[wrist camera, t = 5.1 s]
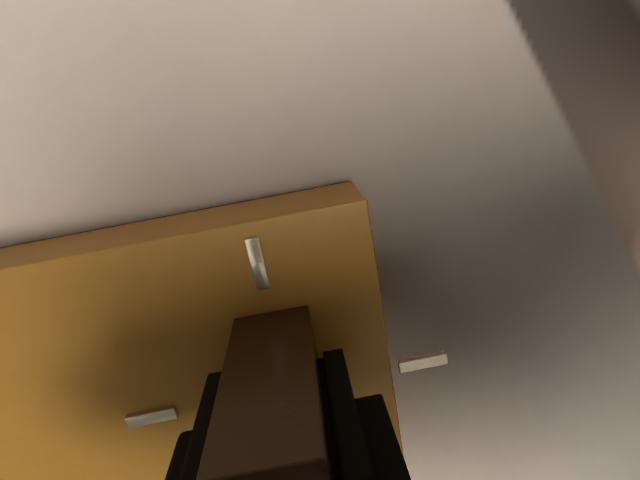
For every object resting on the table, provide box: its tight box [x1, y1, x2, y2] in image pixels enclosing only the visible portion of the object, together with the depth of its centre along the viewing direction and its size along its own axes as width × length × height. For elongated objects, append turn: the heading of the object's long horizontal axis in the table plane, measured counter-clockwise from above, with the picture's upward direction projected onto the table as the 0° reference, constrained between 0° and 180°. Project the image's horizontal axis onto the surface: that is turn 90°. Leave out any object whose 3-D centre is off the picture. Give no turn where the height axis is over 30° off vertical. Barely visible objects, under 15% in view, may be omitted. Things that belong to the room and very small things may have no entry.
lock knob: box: [196, 305, 333, 480], centre depth 9 cm, size 5×2×5 cm, turn 9°
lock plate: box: [0, 182, 448, 480], centre depth 13 cm, size 14×10×3 cm
